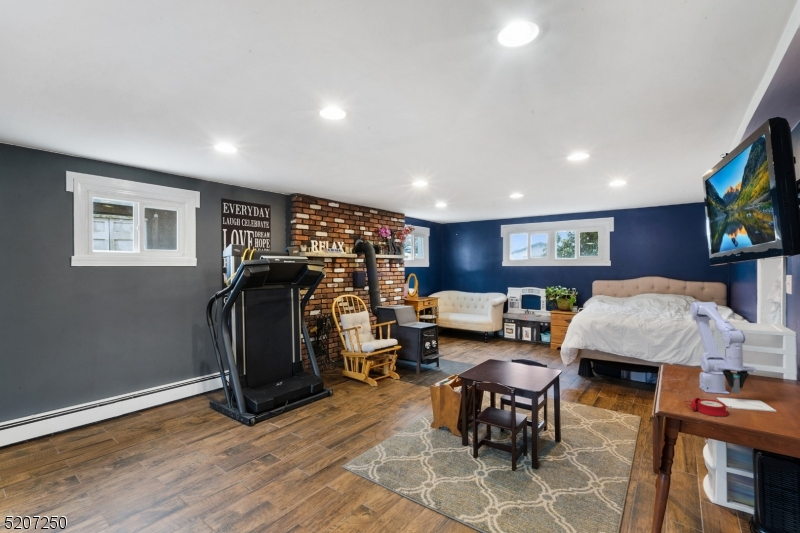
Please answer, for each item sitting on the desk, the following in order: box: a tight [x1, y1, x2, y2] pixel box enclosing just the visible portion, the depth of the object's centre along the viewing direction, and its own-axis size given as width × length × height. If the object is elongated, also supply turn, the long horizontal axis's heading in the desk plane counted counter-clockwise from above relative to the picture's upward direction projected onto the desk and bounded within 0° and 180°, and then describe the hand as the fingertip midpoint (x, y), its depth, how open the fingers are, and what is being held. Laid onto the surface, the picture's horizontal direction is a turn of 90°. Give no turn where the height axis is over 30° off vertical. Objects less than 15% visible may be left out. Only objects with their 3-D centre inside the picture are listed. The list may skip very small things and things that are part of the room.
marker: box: [730, 373, 741, 395], centre depth 169 cm, size 3×3×8 cm
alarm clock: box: [684, 397, 731, 417], centre depth 161 cm, size 10×6×15 cm
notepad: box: [716, 397, 777, 413], centre depth 165 cm, size 16×12×1 cm
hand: (735, 387), depth 169 cm, fingers closed on marker, 3 cm apart
